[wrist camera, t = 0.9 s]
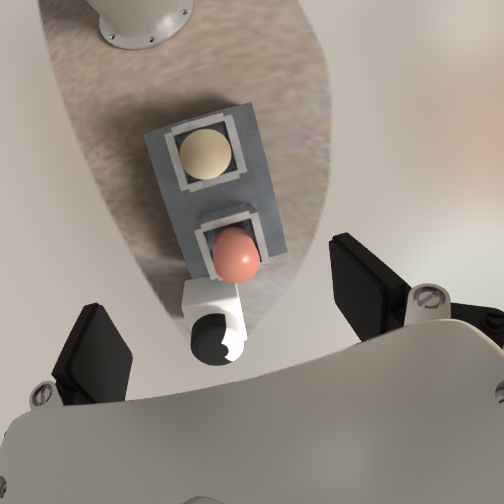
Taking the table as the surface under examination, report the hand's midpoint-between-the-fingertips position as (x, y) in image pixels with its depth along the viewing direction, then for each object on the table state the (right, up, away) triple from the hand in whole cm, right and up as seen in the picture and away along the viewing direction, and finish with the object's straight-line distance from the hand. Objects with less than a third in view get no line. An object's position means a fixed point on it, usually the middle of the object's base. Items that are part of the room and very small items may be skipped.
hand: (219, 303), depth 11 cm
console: (-3, +10, +24) cm, 27 cm away
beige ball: (-3, +11, +15) cm, 19 cm away
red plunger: (-1, +3, +19) cm, 19 cm away
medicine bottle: (-4, -4, +31) cm, 31 cm away
